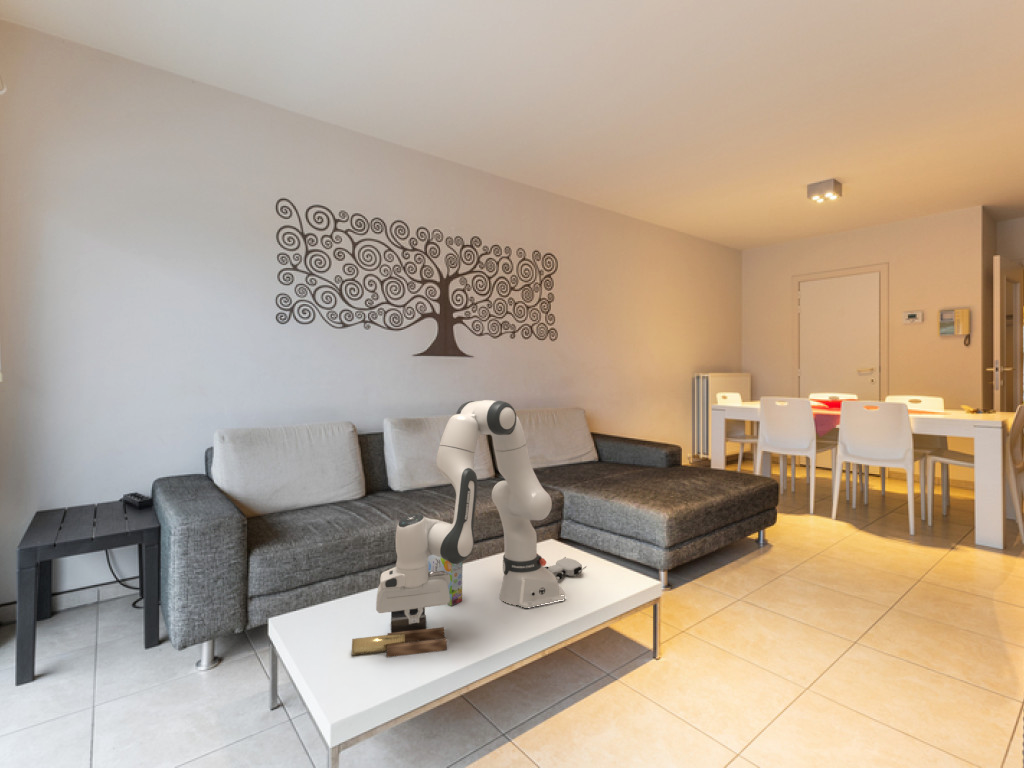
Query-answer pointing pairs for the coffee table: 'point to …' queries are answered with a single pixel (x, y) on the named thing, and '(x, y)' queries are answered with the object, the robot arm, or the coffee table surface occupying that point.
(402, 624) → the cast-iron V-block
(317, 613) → the coffee table surface
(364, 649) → the brass rod
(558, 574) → the robot toy
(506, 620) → the coffee table surface
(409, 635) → the copper channel
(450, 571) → the snack box
